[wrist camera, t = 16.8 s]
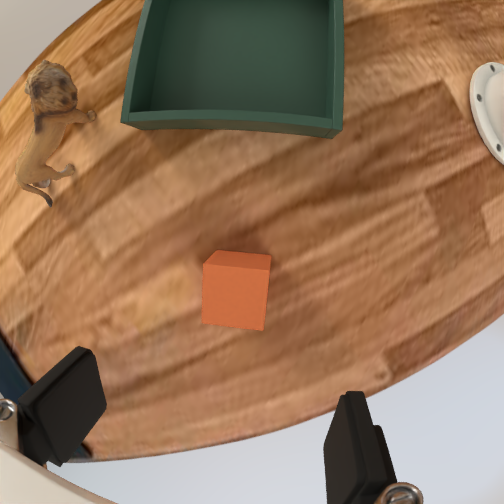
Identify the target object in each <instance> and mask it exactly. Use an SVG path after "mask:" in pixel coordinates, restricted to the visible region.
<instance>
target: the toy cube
mask: <svg viewBox="0 0 504 504" xmlns="http://www.w3.org/2000/svg"><path fill="white" fill-rule="evenodd" d="M270 266H271V255H264V254H254V253H244V252H234V251H224V250H216V251H215V252H214V253H213V254H212V255H211V256H210V257H209V258H208V259H207V260H206V261H205V263H204V264H203V287H202V323H205V324H213V325H220V326H228V327H236V328H245V329H253V330H264V322H265V314H266V305H267V295H268V285H269V276H270Z"/></svg>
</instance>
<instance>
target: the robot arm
mask: <svg viewBox="0 0 504 504" xmlns="http://www.w3.org/2000/svg"><path fill="white" fill-rule="evenodd" d="M470 103H471V109H472V113H473V117H474V121H475V123H476V126H477V128H478V131H479V133H480V135H481V137H482V139H483V141H484V143H485V144H486V146H487V147H488V149H489V151H490V152H491V153H492V154H493V155H494V157H495V158H496V159H497V160H498V161H500V162H501V163H502V164H503V165H504V65H503V64H500V63H496V62H489V63H486V64H484V65H481V66H480V67H479V68H477V69H476V71H475V72H474V74H473V76H472V79H471V82H470ZM18 402H19V404H18V405H17V406H16V404H15V403H14V402H13V401H12V400H9V399H0V504H117V503H115V502H112V501H110V500H108V499H105V498H103V497H100V496H98V495H96V494H94V493H92V492H89V491H87V490H85V489H83V488H81V487H79V486H77V485H75V484H73V483H71V482H69V481H67V480H65V479H63V478H61V477H60V476H58V475H56V474H54V473H52V472H51V471H49V470H47V465H46V462H47V461H48V460H49V461H50V462H52V463H53V464H55V465H57V466H59V467H61V465H62V464H63V463H66V462H67V461H68V460H69V459H70V458H71V456H72V455H73V453H74V452H75V451H76V449H77V448H78V447H79V445H80V444H81V443H82V441H83V440H84V438H85V437H86V436H87V434H88V433H89V432H90V430H91V429H92V428H93V426H94V425H95V424H96V422H97V421H98V420H99V418H100V417H101V416H102V414H103V413H104V412H105V410H106V406H107V403H106V399H105V396H104V392H103V388H102V384H101V380H100V375H99V371H98V366H97V362H96V357H95V355H94V354H93V353H92V351H91V350H90V349H86V348H83V347H80V346H78V347H76V348H75V349H74V350H72V351H71V352H70V353H69V354H68V355H67V356H65V357H64V358H63V359H62V360H61V361H60V362H59V363H57V364H56V365H55V366H54V367H53V368H52V369H51V370H50V371H48V372H47V373H46V374H45V375H44V376H43V377H42V378H41V379H40V380H38V381H37V382H36V383H35V384H34V385H33V386H32V387H31V388H30V389H29V390H27V391H26V392H25V393H24V394H23V395H22V396H21V397H20V398H19V399H18ZM323 450H324V464H325V476H326V491H327V504H423V495H422V493H421V491H420V490H419V489H418V488H417V487H416V486H414V485H412V484H409V483H406V482H398V483H397V479H396V476H395V472H394V468H393V465H392V461H391V457H390V454H389V450H388V447H387V444H386V440H385V437H384V434H383V431H382V428H381V427H380V426H379V425H373V422H372V419H371V416H370V412H369V409H368V406H367V402H366V399H365V395H364V393H363V391H347V392H346V394H345V395H341V396H340V399H339V402H338V405H337V408H336V411H335V414H334V417H333V420H332V422H331V425H330V428H329V431H328V434H327V436H326V439H325V442H324V449H323Z"/></svg>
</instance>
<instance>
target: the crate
mask: <svg viewBox="0 0 504 504" xmlns="http://www.w3.org/2000/svg"><path fill="white" fill-rule="evenodd" d="M343 101H344V15H343V0H145V2H144V6H143V9H142V13H141V17H140V21H139V24H138V28H137V32H136V37H135V41H134V45H133V50H132V55H131V59H130V64H129V70H128V75H127V81H126V87H125V93H124V99H123V106H122V114H121V121H120V122H121V123H123V124H126V125H129V126H132V127H135V128H138V129H141V130H155V129H224V130H246V131H262V132H275V133H286V134H296V135H306V136H314V137H322V138H329V139H333V137H335V136H336V135H337V134H338V133H339V132H340V131H342V125H343Z"/></svg>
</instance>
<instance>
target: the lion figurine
mask: <svg viewBox="0 0 504 504" xmlns="http://www.w3.org/2000/svg"><path fill="white" fill-rule="evenodd" d="M25 93H28V94H29V95H30V98H31V109H32V111H33V112H34V122H35V124H34V128H33V131H32V133H31V136H30V139H29V141H28V144H27V146H26V148H25V150H24V151H23V153H22V154H21V155H20V157H19V158H18V160H17V163H16V166H15V174H16V180H17V183H18V185H19V186H20V187H21V188H22V189H24V190H26V191H29V192H32V193H35V194H39V195H41V196H42V197H44V198H45V200H46V202H47V203H48V205H49V206H50V207H52V203H53V202H52V199H51V198H50V196H49V195H48V194H46V193H45V192H43V191H41V190H39V189H37V188H35V187H39V188H46V187H48V186H49V184H50V179H53V180H59V179H61V178H63V177H67V176H70V175H72V174H73V172H74V170H75V168H74V166H73V165H72V164H68V165H67V166H66V168H65V169H64V170H63V171H61V172H57V171H55V170H54V169H53V168H51V167H49V166H47V165H46V164H45V162H46V160H47V159H48V158H49V157H50V156H51V154H52V153H53V152H54V151H55V150H56V149H57V147H58V146H59V144H60V142H61V140H62V138H63V135H64V132H65V128H66V125H67V124H70V123H74V122H81V123H88V122H91V121H93V120H94V119H95V117H96V113H95V112H94V111H91V110H90V111H89V112H88V113H87V114H85V113H83V112H82V111H80V110H78V109H76V106H77V101H78V99H77V88H76V86H75V85H74V84H73V82H72V79H71V76H70V74H69V73H68V72H67V71H66V70H65V68H64V67H63V66H62V65H60V64H57V63H51V62H49V61H46V60H43V61H42V63H41V64H40V65H37V66H36V68H35V69H33V70H32V71H31V72H30V73H29V75H28V79H27V83H26V84H25ZM31 183H32V184H33V186H35V187H32V186H30V185H28V184H31Z"/></svg>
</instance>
